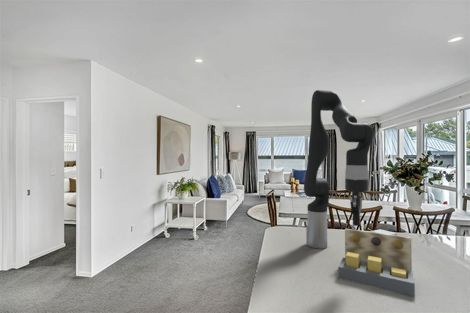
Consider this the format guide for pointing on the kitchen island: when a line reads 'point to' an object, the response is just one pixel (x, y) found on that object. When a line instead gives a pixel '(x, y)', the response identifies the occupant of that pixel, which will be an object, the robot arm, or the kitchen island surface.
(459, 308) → the kitchen island surface
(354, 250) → the card
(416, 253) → the kitchen island surface
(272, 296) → the kitchen island surface
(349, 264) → the button left
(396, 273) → the button right
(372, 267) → the button mid
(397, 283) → the board
